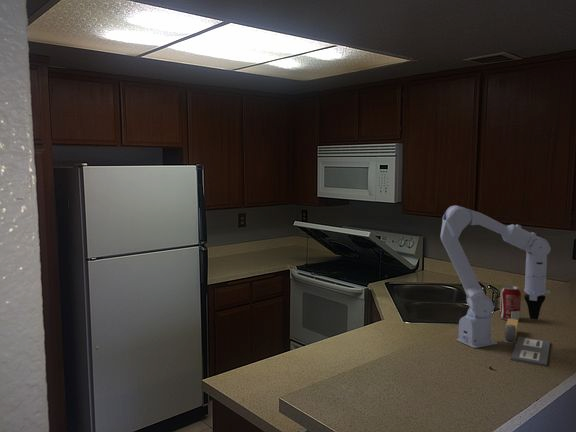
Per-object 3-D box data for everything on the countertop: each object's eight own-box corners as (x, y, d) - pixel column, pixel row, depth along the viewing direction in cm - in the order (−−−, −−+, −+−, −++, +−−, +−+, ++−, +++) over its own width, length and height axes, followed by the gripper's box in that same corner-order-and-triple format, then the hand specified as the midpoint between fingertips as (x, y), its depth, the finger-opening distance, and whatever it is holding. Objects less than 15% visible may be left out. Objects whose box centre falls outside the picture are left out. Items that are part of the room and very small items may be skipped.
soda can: (523, 321, 173) (524, 289, 172) (504, 321, 173) (505, 289, 172) (514, 316, 180) (515, 285, 179) (496, 316, 180) (497, 285, 179)
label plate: (546, 366, 132) (546, 363, 132) (495, 357, 138) (495, 354, 138) (550, 343, 151) (550, 340, 151) (505, 336, 157) (505, 333, 157)
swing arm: (515, 341, 150) (515, 327, 150) (504, 340, 151) (504, 326, 151) (517, 329, 162) (518, 316, 162) (507, 328, 164) (508, 315, 163)
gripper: (549, 281, 139) (547, 326, 140) (551, 272, 151) (549, 314, 152) (522, 278, 142) (520, 323, 143) (526, 270, 155) (525, 311, 156)
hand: (534, 318), depth 148 cm, fingers closed
